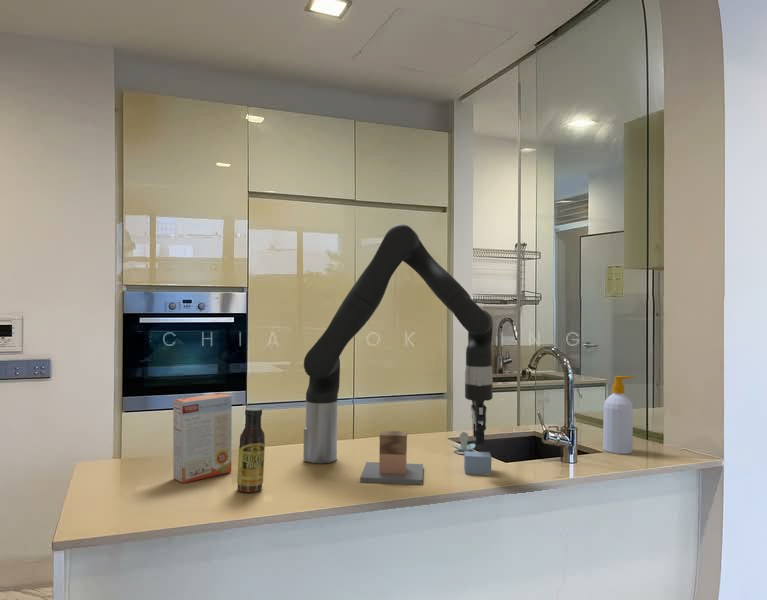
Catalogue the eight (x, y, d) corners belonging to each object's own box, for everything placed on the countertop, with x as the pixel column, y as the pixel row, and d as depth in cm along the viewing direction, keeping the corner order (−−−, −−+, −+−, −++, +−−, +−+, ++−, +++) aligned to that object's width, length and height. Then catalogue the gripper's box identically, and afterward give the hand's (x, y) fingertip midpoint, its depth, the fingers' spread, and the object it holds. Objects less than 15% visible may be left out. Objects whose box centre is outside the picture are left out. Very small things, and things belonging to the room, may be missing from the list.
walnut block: (379, 453, 149) (379, 435, 149) (381, 448, 154) (381, 430, 154) (405, 454, 149) (406, 435, 149) (406, 449, 154) (407, 431, 154)
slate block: (465, 474, 153) (465, 456, 153) (464, 468, 158) (464, 451, 158) (491, 475, 153) (491, 457, 153) (489, 469, 158) (489, 452, 158)
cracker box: (221, 468, 156) (222, 392, 156) (232, 473, 151) (233, 395, 152) (171, 478, 146) (172, 398, 146) (181, 484, 142) (183, 401, 142)
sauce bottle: (240, 495, 134) (241, 412, 134) (234, 487, 140) (235, 407, 140) (267, 491, 137) (268, 410, 137) (260, 484, 143) (261, 405, 143)
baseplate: (360, 482, 145) (360, 458, 145) (366, 466, 159) (366, 444, 159) (422, 484, 144) (422, 460, 144) (423, 468, 158) (423, 446, 158)
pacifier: (479, 455, 173) (472, 449, 179) (480, 435, 173) (472, 430, 179) (457, 456, 172) (450, 450, 177) (457, 436, 171) (450, 431, 177)
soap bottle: (639, 454, 175) (640, 378, 175) (609, 454, 175) (610, 377, 175) (627, 447, 184) (628, 374, 184) (599, 447, 184) (599, 374, 184)
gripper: (463, 378, 163) (463, 434, 163) (466, 385, 149) (466, 446, 149) (489, 378, 163) (489, 434, 162) (495, 385, 148) (495, 447, 148)
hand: (478, 440), depth 156 cm, fingers open, 8 cm apart
